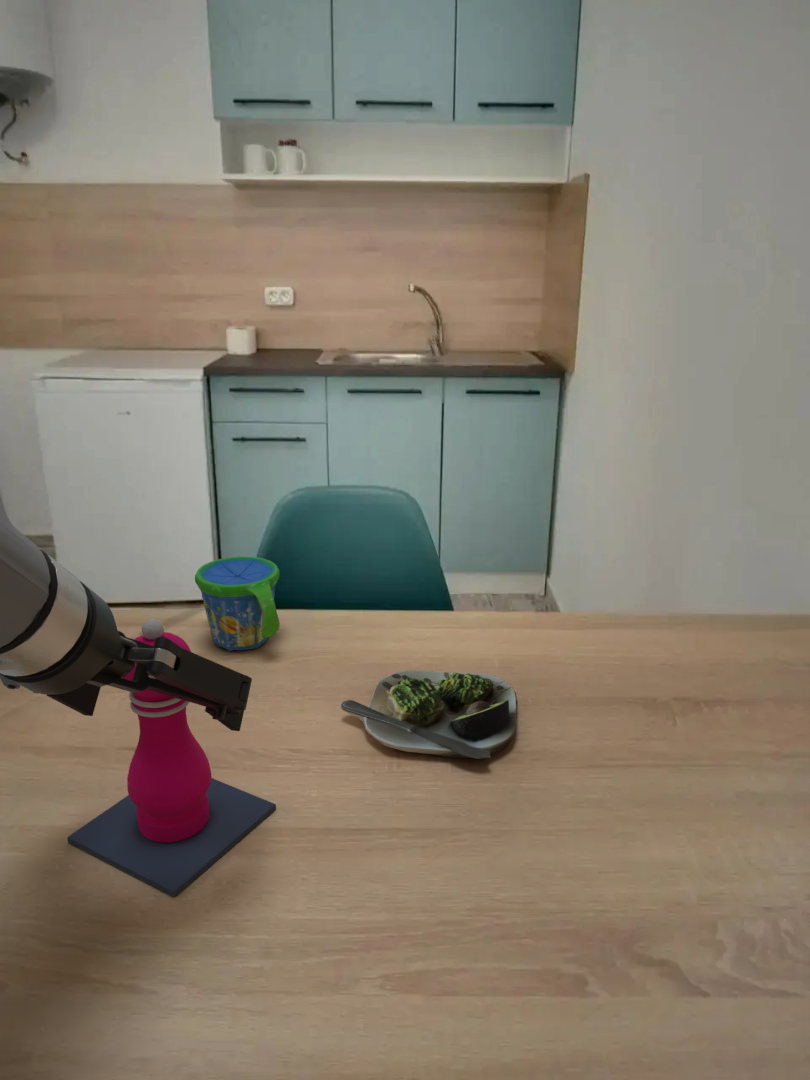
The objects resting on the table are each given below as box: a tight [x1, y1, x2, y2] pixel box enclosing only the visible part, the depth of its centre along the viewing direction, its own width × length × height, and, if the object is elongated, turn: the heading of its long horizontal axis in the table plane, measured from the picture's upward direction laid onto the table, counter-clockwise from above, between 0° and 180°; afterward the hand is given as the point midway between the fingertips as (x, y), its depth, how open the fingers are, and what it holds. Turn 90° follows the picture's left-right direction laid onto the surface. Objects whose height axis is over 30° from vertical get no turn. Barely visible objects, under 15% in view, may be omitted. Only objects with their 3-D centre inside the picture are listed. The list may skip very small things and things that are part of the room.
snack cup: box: [194, 555, 281, 652], centre depth 109 cm, size 16×10×10 cm
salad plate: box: [340, 669, 519, 760], centre depth 91 cm, size 19×18×5 cm
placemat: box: [66, 777, 277, 898], centre depth 75 cm, size 13×13×1 cm
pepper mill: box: [123, 618, 213, 842], centre depth 72 cm, size 7×7×20 cm
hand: (164, 707), depth 72 cm, fingers open, 13 cm apart
